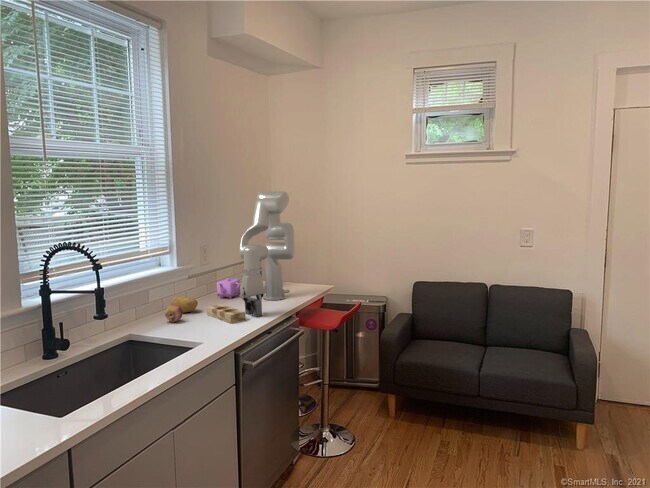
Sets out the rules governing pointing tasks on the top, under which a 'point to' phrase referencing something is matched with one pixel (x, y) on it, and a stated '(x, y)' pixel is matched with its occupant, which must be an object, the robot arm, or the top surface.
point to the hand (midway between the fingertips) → (253, 308)
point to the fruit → (173, 313)
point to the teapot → (228, 288)
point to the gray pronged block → (254, 307)
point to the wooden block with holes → (226, 313)
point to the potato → (185, 303)
